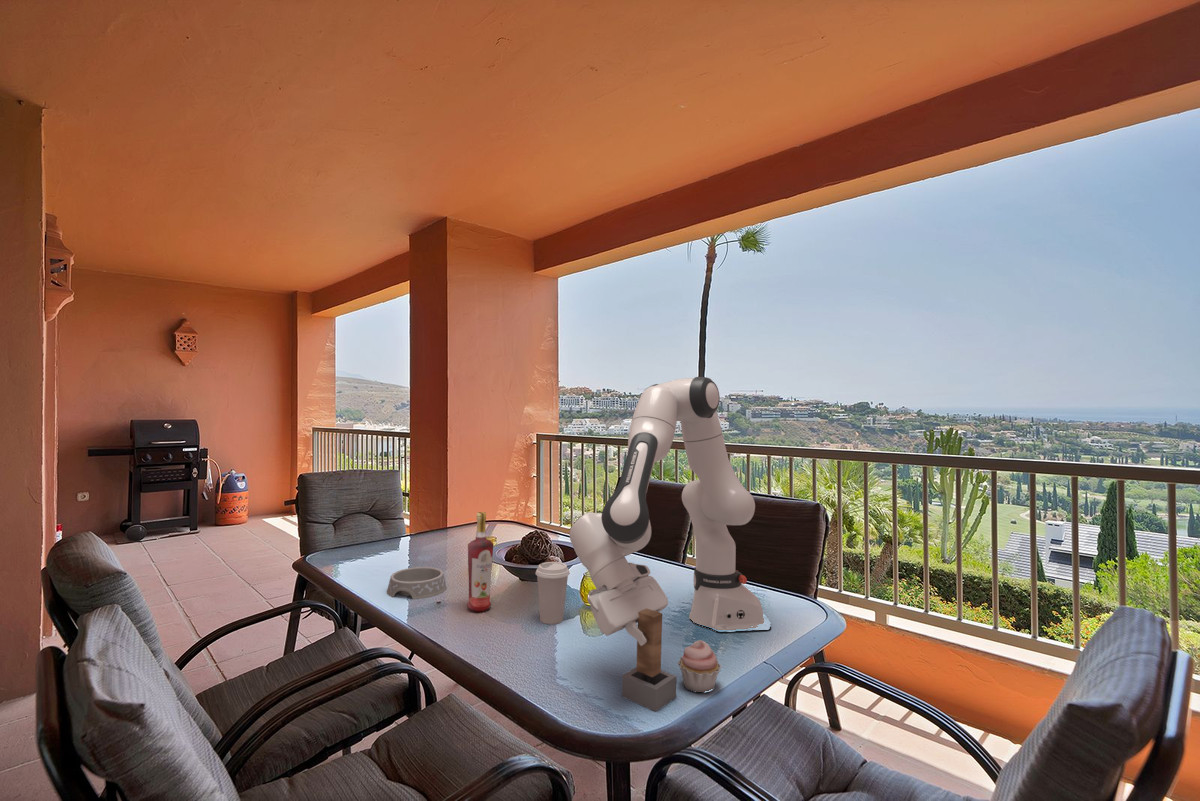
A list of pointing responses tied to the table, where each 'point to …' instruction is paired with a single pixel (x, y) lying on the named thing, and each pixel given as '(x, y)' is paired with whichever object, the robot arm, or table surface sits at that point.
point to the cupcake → (699, 667)
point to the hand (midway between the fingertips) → (651, 640)
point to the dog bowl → (417, 582)
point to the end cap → (649, 688)
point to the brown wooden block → (650, 643)
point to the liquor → (480, 567)
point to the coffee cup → (552, 591)
